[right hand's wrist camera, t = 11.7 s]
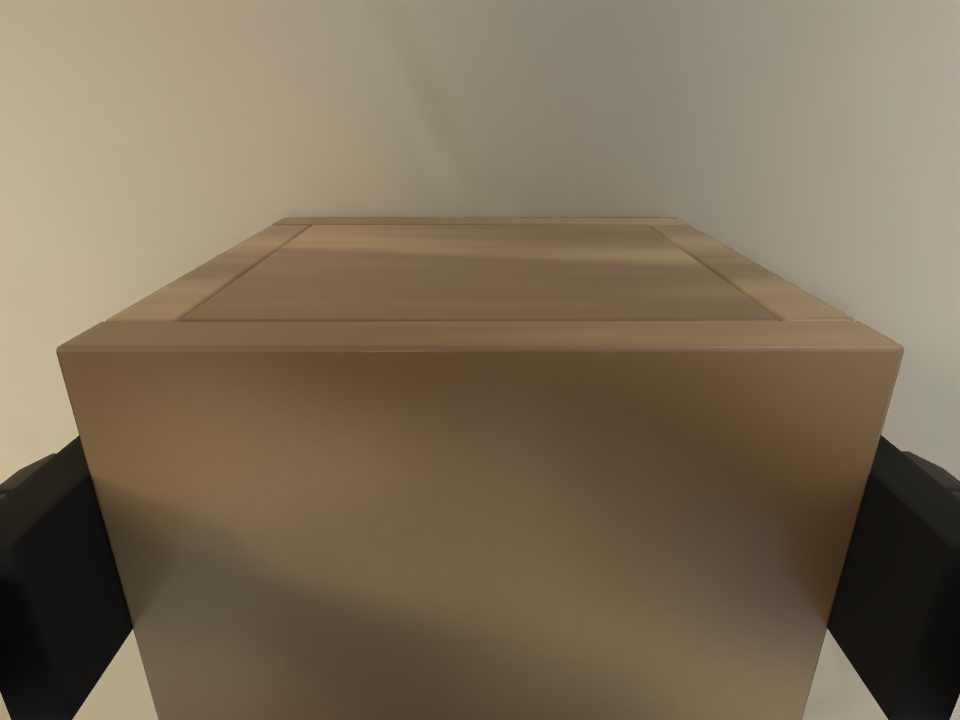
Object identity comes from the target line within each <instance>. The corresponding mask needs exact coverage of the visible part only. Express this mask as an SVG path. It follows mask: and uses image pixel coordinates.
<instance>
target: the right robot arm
mask: <svg viewBox="0 0 960 720" xmlns="http://www.w3.org/2000/svg"><path fill="white" fill-rule="evenodd" d="M827 628H828V630H829V631H830V633H831V634H832V636H833V637H834V639H835V640H836V642H837V643H838V645H839V646H840V648H841V649H842V651H843V652H844V654H845V655H846V657H847V658H848V660H849V661H850V663H851V664H852V666H853V667H854V669H855V670H856V672H857V673H858V675H859V676H860V678H861V679H862V681H863V682H864V684H865V685H866V687H867V688H868V690H869V691H870V693H871V694H872V696H873V697H874V699H875V700H876V702H877V703H878V705H879V706H880V708H881V709H882V711H883V712H884V714H885V715H886V717H887V718H888V720H949V719H950V717H951V714H952V712H953V709H954V707H955V704H956V702H957V699H958V697H959V694H960V481H959V480H957V479H956V478H955V477H953V476H952V475H951V474H950V473H948V472H947V471H946V470H944V469H943V468H941V467H939V466H937V465H935V464H933V463H931V462H929V461H927V460H925V459H923V458H921V457H919V456H917V455H915V454H913V453H911V452H901V451H900V450H899V449H897V448H896V447H895V446H894V445H893V444H891V443H890V442H889V441H888V440H886V439H885V438H884V437H883V436H881V435H880V439H879V443H878V446H877V450H876V454H875V457H874V461H873V464H872V468H871V472H870V475H869V479H868V482H867V486H866V490H865V493H864V497H863V500H862V504H861V508H860V511H859V515H858V518H857V522H856V526H855V529H854V533H853V537H852V540H851V544H850V547H849V551H848V555H847V558H846V562H845V565H844V569H843V573H842V576H841V580H840V583H839V587H838V591H837V594H836V598H835V601H834V605H833V609H832V612H831V616H830V619H829V623H828V627H827ZM132 629H133V626H132V622H131V619H130V615H129V611H128V608H127V604H126V601H125V597H124V593H123V590H122V586H121V583H120V579H119V575H118V572H117V568H116V565H115V561H114V558H113V554H112V550H111V547H110V543H109V540H108V536H107V532H106V529H105V525H104V522H103V518H102V514H101V511H100V507H99V504H98V500H97V496H96V493H95V489H94V486H93V482H92V478H91V475H90V471H89V468H88V464H87V460H86V457H85V453H84V450H83V446H82V442H81V439H80V435H79V436H78V437H77V438H76V439H74V440H73V441H72V442H71V443H69V444H68V445H67V446H66V447H64V448H63V449H62V450H61V451H60V452H58V453H57V454H51V455H49V456H47V457H45V458H43V459H41V460H39V461H37V462H35V463H33V464H31V465H29V466H27V467H25V468H23V469H21V470H19V471H17V472H16V473H15V474H14V475H12V476H11V477H10V478H8V479H7V480H6V481H5V482H3V483H2V484H1V485H0V692H1V694H2V697H3V700H4V702H5V705H6V707H7V710H8V712H9V715H10V717H11V720H72V719H73V718H74V716H75V715H76V713H77V712H78V710H79V709H80V707H81V706H82V704H83V703H84V701H85V700H86V698H87V697H88V695H89V694H90V692H91V691H92V689H93V688H94V686H95V685H96V683H97V682H98V680H99V679H100V677H101V676H102V674H103V673H104V671H105V670H106V668H107V667H108V665H109V664H110V662H111V661H112V659H113V658H114V656H115V655H116V653H117V652H118V650H119V649H120V647H121V646H122V644H123V643H124V641H125V640H126V638H127V637H128V635H129V634H130V632H131V631H132Z"/></svg>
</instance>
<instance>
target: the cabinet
mask: <svg viewBox="0 0 960 720" xmlns="http://www.w3.org/2000/svg"><path fill="white" fill-rule="evenodd" d="M56 353H57V356H58V360H59V363H60V367H61V371H62V374H63V378H64V381H65V385H66V389H67V392H68V396H69V399H70V403H71V406H72V410H73V414H74V417H75V421H76V424H77V428H78V432H79V435H80V439H81V442H82V446H83V450H84V453H85V457H86V460H87V464H88V468H89V471H90V475H91V478H92V482H93V486H94V489H95V493H96V496H97V500H98V504H99V507H100V511H101V514H102V518H103V522H104V525H105V529H106V532H107V536H108V540H109V543H110V547H111V550H112V554H113V558H114V561H115V565H116V568H117V572H118V575H119V579H120V583H121V586H122V590H123V593H124V597H125V601H126V604H127V608H128V611H129V615H130V619H131V622H132V626H133V629H134V633H135V637H136V640H137V644H138V647H139V651H140V655H141V658H142V662H143V665H144V669H145V673H146V676H147V680H148V683H149V687H150V691H151V694H152V698H153V701H154V705H155V709H156V712H157V716H158V719H159V720H802V717H803V713H804V710H805V706H806V702H807V699H808V695H809V692H810V688H811V684H812V681H813V677H814V674H815V670H816V666H817V663H818V659H819V656H820V652H821V648H822V645H823V641H824V638H825V634H826V630H827V627H828V623H829V619H830V616H831V612H832V609H833V605H834V601H835V598H836V594H837V591H838V587H839V583H840V580H841V576H842V573H843V569H844V565H845V562H846V558H847V555H848V551H849V547H850V544H851V540H852V537H853V533H854V529H855V526H856V522H857V518H858V515H859V511H860V508H861V504H862V500H863V497H864V493H865V490H866V486H867V482H868V479H869V475H870V472H871V468H872V464H873V461H874V457H875V454H876V450H877V446H878V443H879V439H880V435H881V432H882V428H883V425H884V421H885V417H886V414H887V410H888V407H889V403H890V399H891V396H892V392H893V389H894V385H895V381H896V378H897V374H898V371H899V367H900V363H901V360H902V356H903V353H904V349H903V346H901V345H900V344H898V343H896V342H894V341H893V340H891V339H889V338H887V337H886V336H884V335H882V334H880V333H878V332H877V331H875V330H873V329H871V328H870V327H868V326H866V325H864V324H863V323H861V322H858V321H855V320H854V319H853V318H851V317H849V316H847V315H846V314H844V313H842V312H840V311H839V310H837V309H835V308H833V307H832V306H830V305H828V304H826V303H825V302H823V301H821V300H819V299H817V298H816V297H814V296H812V295H810V294H809V293H807V292H805V291H803V290H802V289H800V288H798V287H796V286H795V285H793V284H791V283H789V282H788V281H786V280H784V279H782V278H780V277H779V276H777V275H775V274H773V273H772V272H770V271H768V270H766V269H765V268H763V267H761V266H759V265H758V264H756V263H754V262H752V261H750V260H749V259H747V258H745V257H743V256H742V255H740V254H738V253H736V252H735V251H733V250H731V249H729V248H728V247H726V246H724V245H722V244H721V243H719V242H717V241H715V240H713V239H712V238H710V237H708V236H706V235H705V234H703V233H701V232H699V231H698V230H696V229H694V228H692V227H691V226H689V225H687V224H685V223H684V222H682V221H680V220H678V219H676V218H283V219H281V220H280V221H278V222H276V223H274V224H273V225H271V226H269V227H268V228H266V229H264V230H262V231H261V232H259V233H257V234H255V235H254V236H252V237H250V238H248V239H247V240H245V241H243V242H241V243H240V244H238V245H236V246H234V247H233V248H231V249H229V250H227V251H226V252H224V253H222V254H220V255H219V256H217V257H215V258H213V259H212V260H210V261H208V262H206V263H205V264H203V265H201V266H199V267H198V268H196V269H194V270H193V271H191V272H189V273H187V274H186V275H184V276H182V277H180V278H179V279H177V280H175V281H173V282H172V283H170V284H168V285H166V286H165V287H163V288H161V289H159V290H158V291H156V292H154V293H152V294H151V295H149V296H147V297H145V298H144V299H142V300H140V301H138V302H137V303H135V304H133V305H131V306H130V307H128V308H126V309H124V310H123V311H121V312H119V313H117V314H116V315H114V316H112V317H110V318H109V319H107V320H106V321H105V322H101V323H99V324H97V325H95V326H93V327H92V328H90V329H88V330H86V331H85V332H83V333H81V334H79V335H78V336H76V337H74V338H72V339H71V340H69V341H67V342H65V343H64V344H62V345H60V346H58V348H57V352H56Z"/></svg>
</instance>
